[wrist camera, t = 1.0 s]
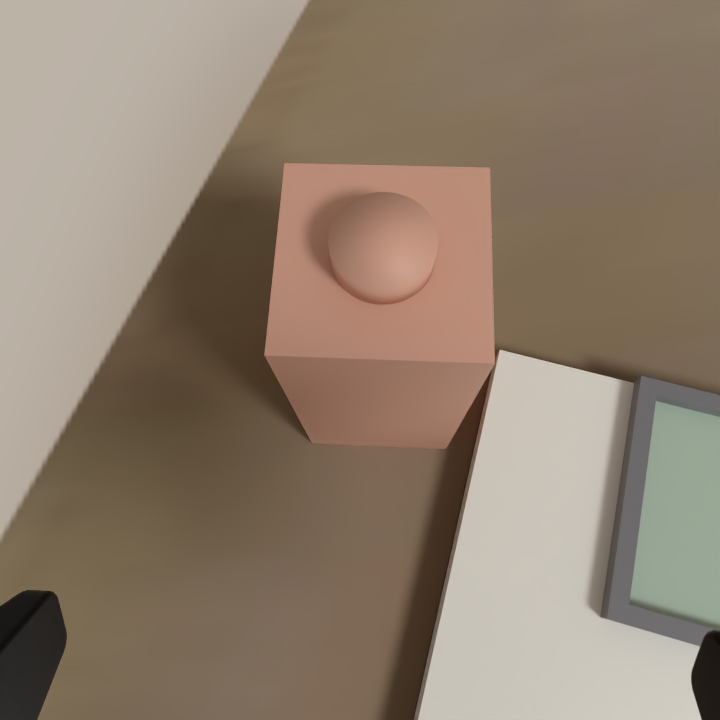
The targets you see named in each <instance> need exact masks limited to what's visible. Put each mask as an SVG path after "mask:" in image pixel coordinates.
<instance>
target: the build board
mask: <svg viewBox="0 0 720 720" xmlns="http://www.w3.org/2000/svg"><path fill="white" fill-rule="evenodd" d="M710 630H720V395H718V394H714V393H710V392H705V391H701V390H697V389H693V388H689V387H685V386H681V385H677V384H673V383H669V382H665V381H661V380H657V379H653V378H649V377H645V376H640V377H639V378H637V379H636V380H635V381H634V383H631V382H627V381H623V380H619V379H615V378H611V377H607V376H603V375H599V374H595V373H591V372H587V371H583V370H579V369H575V368H571V367H567V366H563V365H559V364H555V363H551V362H547V361H543V360H539V359H535V358H531V357H527V356H523V355H519V354H515V353H511V352H507V351H503V350H499V352H498V354H497V356H496V357H495V364H494V366H493V368H492V371H491V376H490V380H489V385H488V389H487V394H486V398H485V403H484V407H483V412H482V416H481V420H480V425H479V429H478V434H477V438H476V443H475V447H474V452H473V456H472V461H471V465H470V470H469V474H468V479H467V483H466V488H465V492H464V497H463V501H462V506H461V510H460V515H459V519H458V524H457V528H456V533H455V537H454V542H453V546H452V550H451V555H450V559H449V564H448V568H447V573H446V577H445V582H444V586H443V591H442V595H441V600H440V604H439V609H438V613H437V618H436V622H435V627H434V631H433V636H432V640H431V645H430V649H429V654H428V658H427V663H426V667H425V672H424V676H423V680H422V685H421V689H420V694H419V698H418V703H417V707H416V712H415V716H414V720H701V716H700V713H699V710H698V706H697V703H696V700H695V697H694V693H693V690H692V685H691V672H692V668H693V665H694V662H695V659H696V656H697V654H698V651H699V648H700V645H701V642H702V640H703V637H704V635H705V634H706V633H707V632H708V631H710Z"/></svg>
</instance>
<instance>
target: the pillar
mask: <svg viewBox="0 0 720 720" xmlns="http://www.w3.org/2000/svg"><path fill="white" fill-rule="evenodd" d="M264 356H265V358H266V359H267V361H268V363H269V365H270V367H271V369H272V370H273V372H274V374H275V376H276V378H277V380H278V382H279V383H280V385H281V387H282V389H283V391H284V393H285V394H286V396H287V398H288V400H289V402H290V404H291V406H292V407H293V409H294V411H295V413H296V415H297V417H298V418H299V420H300V422H301V424H302V426H303V428H304V429H305V431H306V433H307V435H308V437H309V439H310V441H311V442H312V443H313V444H337V445H360V446H384V447H408V448H432V449H446V448H447V446H448V445H449V443H450V441H451V439H452V438H453V436H454V434H455V432H456V431H457V429H458V427H459V425H460V424H461V422H462V420H463V418H464V417H465V415H466V413H467V411H468V410H469V408H470V406H471V404H472V403H473V401H474V399H475V398H476V396H477V394H478V392H479V391H480V389H481V387H482V385H483V384H484V382H485V380H486V378H487V377H488V375H489V373H490V371H491V370H492V368H493V366H494V364H495V348H494V309H493V270H492V230H491V191H490V168H480V167H435V166H389V165H343V164H297V163H284V173H283V182H282V192H281V201H280V211H279V221H278V230H277V240H276V249H275V259H274V268H273V278H272V287H271V297H270V307H269V316H268V326H267V335H266V345H265V354H264Z"/></svg>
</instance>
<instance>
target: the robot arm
mask: <svg viewBox="0 0 720 720" xmlns="http://www.w3.org/2000/svg"><path fill="white" fill-rule="evenodd" d="M66 640H67V633H66V628H65V624H64V620H63V616H62V612H61V608H60V604H59V600H58V597H57V595H56V594H55V593H54V592H51V591H39V590H26V591H23V592H21V593H19V594H17V595H16V596H15V597H13V598H12V599H10V600H9V601H7V602H6V603H4V604H3V605H1V606H0V720H37V719H38V716H39V714H40V711H41V709H42V706H43V703H44V701H45V698H46V696H47V693H48V691H49V688H50V685H51V683H52V680H53V678H54V675H55V673H56V670H57V668H58V665H59V662H60V660H61V657H62V655H63V652H64V649H65V645H66ZM691 685H692V690H693V693H694V697H695V700H696V703H697V706H698V710H699V713H700V716H701V720H720V630H710V631H708V632H707V633H706V634H705V635H704V637H703V640H702V642H701V645H700V648H699V651H698V654H697V656H696V659H695V662H694V665H693V668H692V672H691Z"/></svg>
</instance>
